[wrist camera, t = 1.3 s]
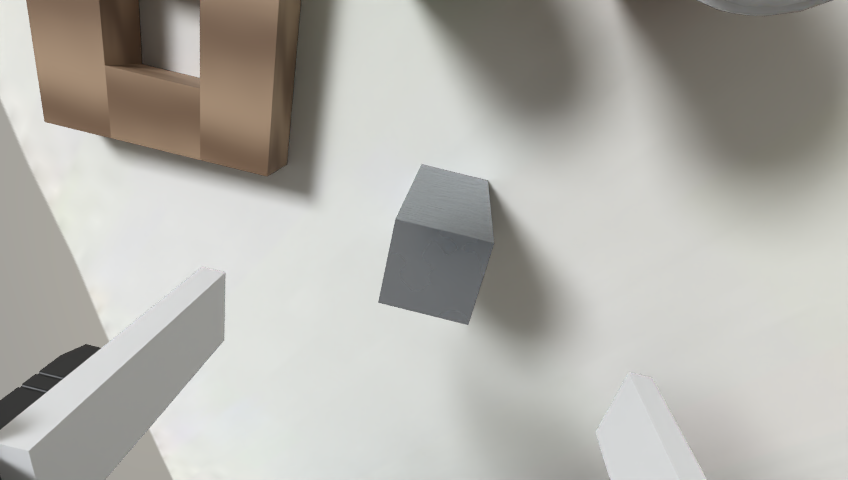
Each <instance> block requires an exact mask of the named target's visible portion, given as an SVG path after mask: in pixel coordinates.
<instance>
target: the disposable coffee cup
mask: <svg viewBox="0 0 848 480" xmlns="http://www.w3.org/2000/svg"><path fill="white" fill-rule="evenodd" d="M697 1H699V2H702V3H704V4H706V5H708V6H710V7H713V8H715V9H717V10H721V11H725V12H730V13H736V14H742V15H756V16H767V15H775V14H783V13H791V12H799V11H803V10H806V9H809V8H812V7H815V6H817V5H820V4H823V3H826V2H829V1H832V0H697Z"/></svg>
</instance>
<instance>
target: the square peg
mask: <svg viewBox="0 0 848 480" xmlns="http://www.w3.org/2000/svg"><path fill="white" fill-rule="evenodd" d="M493 245H494V237H493V227H492V217H491V207H490V197H489V187H488V180H484V179H480V178H476V177H472V176H468V175H464V174H460V173H455V172H451V171H447V170H443V169H439V168H435V167H431V166H427V165H423V164H422V165H421V167H420V169H419V171H418V173H417V175H416V177H415V179H414V181H413V184H412V186H411V188H410V190H409V192H408V194H407V196H406V198H405V200H404V202H403V204H402V207H401V209H400V211H399V213H398V215H397V217H396V220H395V224H394V229H393V234H392V239H391V244H390V249H389V253H388V258H387V263H386V268H385V273H384V278H383V283H382V287H381V292H380V297H379V302H378V303H382V304H386V305H390V306H394V307H398V308H402V309H406V310H410V311H414V312H418V313H422V314H427V315H431V316H435V317H439V318H443V319H447V320H451V321H455V322H459V323H463V324H467V325H468V324H469V321H470V317H471V314H472V311H473V308H474V305H475V302H476V299H477V295H478V292H479V289H480V286H481V283H482V280H483V277H484V273H485V270H486V267H487V264H488V261H489V258H490V255H491V251H492V248H493Z"/></svg>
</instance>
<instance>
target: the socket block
mask: <svg viewBox="0 0 848 480" xmlns="http://www.w3.org/2000/svg"><path fill="white" fill-rule="evenodd" d="M26 1H27V8H28V15H29V21H30V28H31V35H32V41H33V48H34V55H35V61H36V68H37V74H38V81H39V88H40V94H41V101H42V108H43V114H44V121H45V122H47V123H52V124H56V125H60V126H64V127H68V128H72V129H76V130H80V131H84V132H88V133H92V134H96V135H100V136H104V137H108V138H113V139H117V140H121V141H125V142H129V143H133V144H137V145H141V146H145V147H149V148H153V149H157V150H161V151H165V152H170V153H174V154H178V155H182V156H186V157H190V158H194V159H198V160H202V161H206V162H210V163H214V164H218V165H222V166H226V167H231V168H235V169H239V170H243V171H247V172H251V173H255V174H259V175H263V176H269V175H271V174H272V173H274V172H276V171H277V170H279V169H281V168H282V167H284V166H286V165H287V158H288V146H289V135H290V123H291V111H292V100H293V88H294V76H295V65H296V53H297V41H298V30H299V18H300V6H301V0H200V78H197V77H193V76H189V75H185V74H181V73H177V72H173V71H169V70H165V69H161V68H156V67H152V66H148V65H144V64H142V54H141V36H140V17H139V0H26Z"/></svg>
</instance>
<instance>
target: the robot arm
mask: <svg viewBox="0 0 848 480" xmlns="http://www.w3.org/2000/svg"><path fill="white" fill-rule="evenodd" d="M224 321H225V272H222V271H218V270H214V269H210V268H206V267H201V268H200V269H198V270H197V271H196V272H195V273H193V274H192V275H191V276H190V277H189V278H187V279H186V280H185V281H184V282H182V283H181V284H180V285H179V286H177V287H176V288H175V289H174V290H172V291H171V292H170V293H169V294H168V295H166V296H165V297H164V298H163V299H161V300H160V301H159V302H158V303H156V304H155V305H154V306H153V307H151V308H150V309H149V310H148V311H147V312H145V313H144V314H143V315H142V316H140V317H139V318H138V319H137V320H135V321H134V322H133V323H132V324H130V325H129V326H128V327H127V328H126V329H124V330H123V331H122V332H121V333H119V334H118V335H117V336H116V337H114V338H113V339H112V340H111V341H109V342H108V343H107V344H106V345H105V346H103V347H102V348H99V347H95V346H91V345H87V344H85V345H83V346H81V347H79V348H76V349H74V350H72V351H70V352H67V353H65V354H63V355H61V356H59V357H58V358H56V359H55V360H54V361H53V362H51V363H50V364H48V365H47V366H46V367H45V368H43V369H42V370H41V371H40V372H39V374H35V375H34V376H32V377H31V378H30V379H28V380H27V381H26V382H24V383H23V384H22V386H21V387H20V388H19V387H18V388H16V389H15V390H14V391H12V392H11V393H10V394H8V395H7V396H6V397H4V398H3V399H2V400H0V480H105V479H106V478H107V477H108V476H109V475H110V473H111V472H112V471H113V470H114V469H115V468H116V467H117V465H118V464H119V463H120V462H121V461H122V459H123V458H124V457H125V456H126V455H127V454H128V452H129V451H130V450H131V449H132V448H133V446H134V445H135V444H136V443H137V442H138V440H139V439H140V438H141V437H142V436H143V435H144V434H145V432H146V431H147V430H148V429H149V428H150V427H151V425H152V424H153V423H154V422H155V421H156V420H157V418H158V417H159V416H160V415H161V414H162V413H163V411H164V410H165V409H166V408H167V407H168V405H169V404H170V403H171V402H172V401H173V400H174V398H175V397H176V396H177V395H178V394H179V393H180V391H181V390H182V389H183V388H184V387H185V386H186V384H187V383H188V382H189V381H190V380H191V378H192V377H193V376H194V375H195V374H196V373H197V371H198V370H199V369H200V368H201V367H202V366H203V364H204V363H205V362H206V361H207V360H208V359H209V357H210V356H211V355H212V354H213V353H214V351H215V350H216V349H217V348H218V347H219V346H220V344H221V343H222V342H223V341H224ZM595 433H596V436H597V439H598V442H599V446H600V449H601V452H602V455H603V458H604V462H605V465H606V468H607V471H608V475H609V478H610V480H707V479H706V477H705V475H704V473H703V471H702V469H701V468H700V466H699V464H698V462H697V460H696V458H695V456H694V454H693V453H692V451H691V449H690V447H689V445H688V443H687V441H686V439H685V438H684V436H683V434H682V432H681V430H680V428H679V426H678V424H677V423H676V421H675V419H674V417H673V415H672V413H671V411H670V410H669V408H668V406H667V404H666V402H665V400H664V398H663V396H662V395H661V393H660V391H659V389H658V387H657V385H656V383H655V381H654V380H653V378H652V377H648V376H644V375H640V374H636V373H632V372H628V374H627V376H626V378H625V380H624V381H623V383H622V385H621V387H620V389H619V390H618V392H617V394H616V396H615V398H614V399H613V401H612V403H611V405H610V407H609V409H608V410H607V412H606V414H605V416H604V418H603V419H602V421H601V423H600V425H599V427H598V428H597V430H596V432H595Z"/></svg>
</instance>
